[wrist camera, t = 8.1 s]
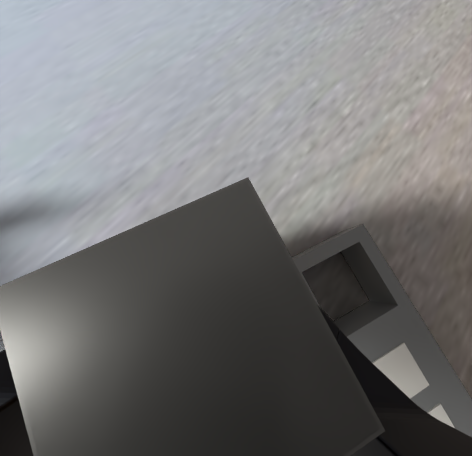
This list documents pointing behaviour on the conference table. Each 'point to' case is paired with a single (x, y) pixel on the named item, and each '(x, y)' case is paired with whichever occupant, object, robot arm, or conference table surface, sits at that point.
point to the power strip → (394, 330)
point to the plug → (182, 344)
